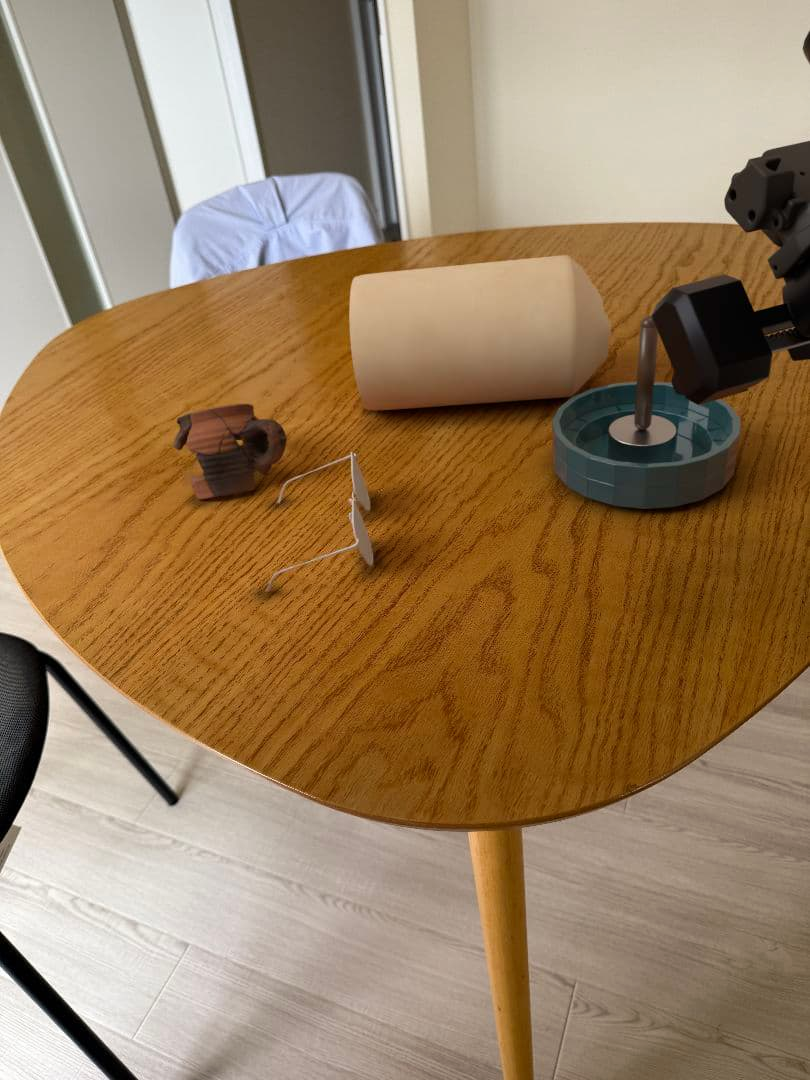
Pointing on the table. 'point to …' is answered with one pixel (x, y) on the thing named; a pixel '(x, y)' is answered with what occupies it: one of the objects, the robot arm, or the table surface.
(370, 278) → the candle
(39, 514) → the table surface
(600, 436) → the bowl
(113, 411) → the table surface
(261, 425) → the pottery mug
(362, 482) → the sunglasses
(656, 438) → the silver joystick
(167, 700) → the table surface
